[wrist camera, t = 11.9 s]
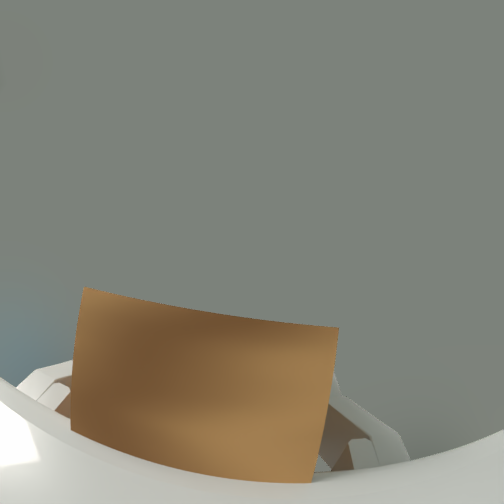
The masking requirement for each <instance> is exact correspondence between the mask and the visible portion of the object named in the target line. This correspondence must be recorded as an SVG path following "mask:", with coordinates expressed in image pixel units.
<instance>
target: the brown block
mask: <svg viewBox="0 0 504 504" xmlns="http://www.w3.org/2000/svg"><path fill="white" fill-rule="evenodd" d="M338 331H339V328H336V327H324V326H313V325H302V324H293V323H284V322H275V321H266V320H259V319H252V318H244V317H237V316H230V315H223V314H216V313H211V312H204V311H198V310H192V309H187V308H181V307H175V306H169V305H165V304H160V303H155V302H150V301H145V300H140V299H135V298H130V297H126V296H121V295H117V294H112V293H108V292H104V291H99V290H95V289H91V288H87V287H84V290H83V295H82V300H81V305H80V311H79V317H78V323H77V331H76V338H75V347H74V355H73V366H72V380H71V406H70V424H71V431H74V432H76V433H78V434H80V435H82V436H84V437H86V438H88V439H91V440H93V441H95V442H98V443H100V444H102V445H105V446H107V447H110V448H112V449H115V450H117V451H120V452H123V453H126V454H129V455H131V456H134V457H137V458H140V459H144V460H147V461H150V462H153V463H157V464H160V465H164V466H168V467H172V468H176V469H180V470H184V471H189V472H193V473H198V474H204V475H209V476H215V477H221V478H228V479H236V480H245V481H255V482H269V483H311V482H312V478H313V474H314V470H315V466H316V461H317V458H318V453H319V449H320V444H321V440H322V435H323V430H324V425H325V420H326V415H327V409H328V404H329V398H330V392H331V385H332V379H333V372H334V365H335V357H336V348H337V340H338Z"/></svg>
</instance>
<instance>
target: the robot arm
mask: <svg viewBox="0 0 504 504" xmlns="http://www.w3.org/2000/svg"><path fill="white" fill-rule="evenodd" d="M72 366H73V360H71V361H68V362H64V363H60V364H57V365H52V366H48V367H45V368H40V369H36V370H35V371H34V372H33V373H31V374H30V375H29V376H28V377H27V378H26V379H25V380H24V381H23V382H22V383H21V384H19V385H18V386H17V387H16V388H15V387H14V386H12V385H11V384H9V383H8V382H6V381H5V380H3V379H2V378H1V377H0V504H504V429H503V430H501V431H499V432H497V433H495V434H492V435H490V436H488V437H485V438H483V439H480V440H478V441H475V442H473V443H470V444H467V445H464V446H461V447H458V448H455V449H452V450H449V451H446V452H442V453H439V454H435V455H432V456H428V457H424V458H420V459H415V460H410V458H409V456H408V454H407V451H406V449H405V446H404V444H403V442H402V440H401V437H400V435H399V433H397V432H395V431H394V430H393V429H391V428H390V427H388V426H387V425H386V424H384V423H383V422H381V421H380V420H378V419H377V418H375V417H374V416H373V415H371V414H370V413H368V412H367V411H366V410H364V409H363V408H361V407H360V406H359V405H357V404H356V403H355V402H353V401H352V400H350V399H349V398H348V397H344V396H342V394H341V392H340V388H339V385H338V382H337V379H336V376H335V373H334V372H333V379H332V385H331V392H330V398H329V404H328V409H327V415H326V420H325V425H324V430H323V435H322V440H321V444H320V449H319V453H318V454H319V455H320V456H321V458H322V459H323V460H324V461H325V462H326V463H327V464H328V466H329V467H330V468H331V469H332V470H331V471H329V472H314V474H313V478H312V482H311V483H269V482H255V481H245V480H236V479H228V478H221V477H215V476H209V475H204V474H198V473H193V472H189V471H184V470H180V469H176V468H172V467H168V466H164V465H160V464H157V463H153V462H150V461H147V460H144V459H140V458H137V457H134V456H131V455H129V454H126V453H123V452H120V451H117V450H115V449H112V448H110V447H107V446H105V445H102V444H100V443H98V442H95V441H93V440H91V439H88V438H86V437H84V436H82V435H80V434H78V433H76V432H74V431H71V424H70V406H71V380H72Z"/></svg>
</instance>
